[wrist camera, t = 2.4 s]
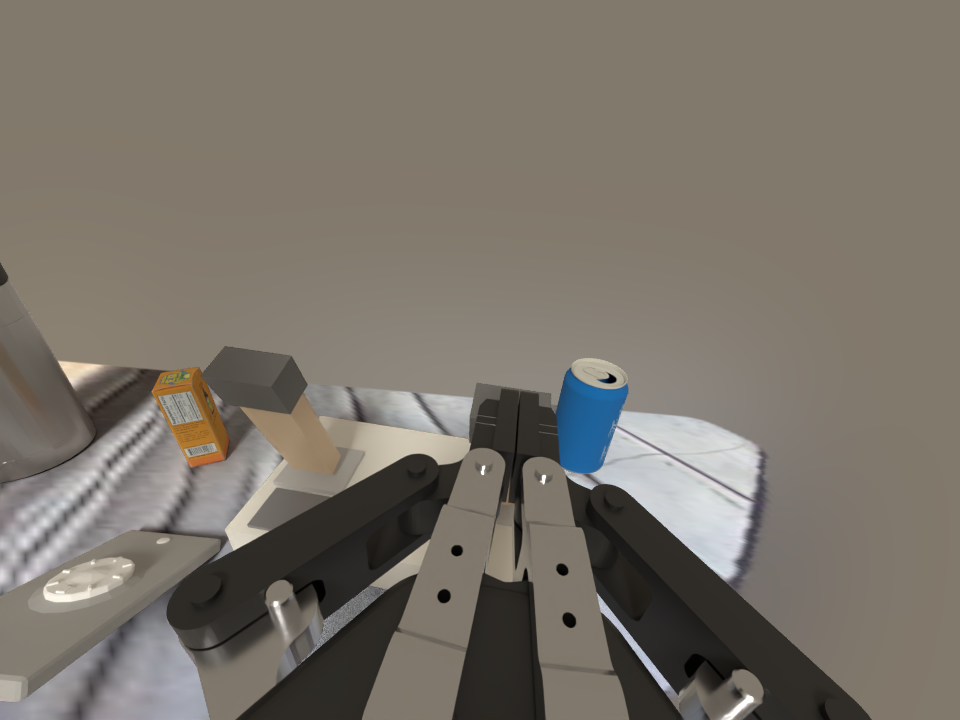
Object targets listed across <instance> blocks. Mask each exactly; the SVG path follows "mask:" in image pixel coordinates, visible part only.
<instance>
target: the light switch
mask: <svg viewBox="0 0 960 720" xmlns="http://www.w3.org/2000/svg"><path fill="white" fill-rule="evenodd" d="M220 546H221V540H220V539H216V538H206V537H196V536H185V535H175V534H165V533H155V532H145V531H135V530H131V531H128V532H126V533H124V534H122V535H120V536H118V537H116V538H114V539H112V540H110V541H108V542H106V543H104V544H102V545H100V546H98V547H96V548H94V549H92V550H90V551H88V552H86V553H84V554H83V555H81V556H79V557H77V558H75V559H73V560H71V561H69V562H67V563H65V564H63V565H61V566H59V567H57V568H55V569H53V570H51V571H49V572H47V573H45V574H43V575H41V576H39V577H37V578H35V579H33V580H31V581H29V582H27V583H25V584H23V585H21V586H19V587H17V588H15V589H13V590H12V591H10V592H8V593H6V594H4V595H2V596H0V701H9V702H17V701H21V700H23V699H25V698H26V697H28V696H29V695H31V694H32V693H33V692H34V691H36V690H37V689H38V688H40V687H41V686H42V685H44V684H45V683H46V682H48V681H49V680H50V679H52V678H53V677H54V676H56V675H57V674H58V673H60V672H61V671H62V670H63V669H65V668H66V667H67V666H69V665H70V664H71V663H73V662H74V661H75V660H77V659H78V658H79V657H81V656H82V655H83V654H85V653H86V652H87V651H89V650H90V649H91V648H92V647H94V646H95V645H96V644H98V643H99V642H100V641H102V640H103V639H104V638H106V637H107V636H108V635H110V634H111V633H112V632H114V631H115V630H116V629H117V628H119V627H120V626H121V625H123V624H124V623H125V622H127V621H128V620H129V619H131V618H132V617H133V616H135V615H136V614H137V613H139V612H140V611H141V610H143V609H144V608H145V607H146V606H148V605H149V604H150V603H152V602H153V601H154V600H156V599H157V598H158V597H160V596H161V595H162V594H164V593H165V592H166V591H168V590H169V589H170V588H172V587H173V586H174V585H175V584H177V583H178V582H179V581H181V580H182V579H183V578H185V577H186V576H187V575H189V574H190V573H191V572H193V571H194V570H195V569H197V568H198V567H199V566H200V565H202V564H203V563H204V562H206V561H207V560H208V559H210V558H211V557H212V556H214V555H215V554H216V553H218V552H219V551H220ZM134 569H135V571H134Z"/></svg>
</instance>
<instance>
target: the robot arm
mask: <svg viewBox="0 0 960 720" xmlns="http://www.w3.org/2000/svg"><path fill="white" fill-rule="evenodd" d="M518 400H519V403H518ZM95 435H96V428H95V426H94V424H93V422H92V421H91V419H90V417H89V415H88V413H87V412H86V410H85V408H84V406H83V405H82V403H81V401H80V399H79V397H78V396H77V394H76V392H75V390H74V389H73V387H72V385H71V383H70V382H69V380H68V378H67V377H66V375H65V373H64V371H63V370H62V368H61V366H60V364H59V363H58V361H57V359H56V358H55V356H54V354H53V353H52V351H51V349H50V347H49V346H48V344H47V342H46V340H45V339H44V337H43V335H42V333H41V332H40V330H39V328H38V327H37V325H36V323H35V322H34V320H33V318H32V316H31V314H30V313H29V311H28V310H27V308H26V306H25V305H24V303H23V301H22V299H21V298H20V296H19V294H18V293H17V291H16V289H15V287H14V286H13V284H12V282H11V280H10V279H9V278H8V275H7V274H6V272H5V270H4V268H3V267H2V265H1V263H0V483H2V482H8V481H13V480H17V479H21V478H25V477H28V476H31V475H34V474H37V473H40V472H43V471H45V470H47V469H50V468H52V467H54V466H57V465H58V464H60V463H62V462H64V461H66V460H68V459H70V458H71V457H73V456H74V455H76V454H77V453H79V452H80V451H82V450H83V449H84V448H85V447H86V446H88V445H89V443H90V442H91V441H92V440H93V439H94V437H95ZM509 482H510V485H509ZM508 488H509V498H508V503H514V504H515V505H514V515H513V521H512V559H513V582H503V581H501V580H499V579H496V578H494V577H492V576H490V575H488V574H486V572H487V567H488V562H489V557H490V552H491V547H492V542H493V537H494V532H495V527H496V521H497V518H498V516H499V514H500V509H501V503H502V502H506V500H507V494H508ZM428 540H430V542H429V545H428V547H427V550H426V553H425V556H424V558H423V561H422V564H421V567H420V569H419V572H418V573H417V574H415V575H412V576H409V577H407V578H405V579H403V580H401V581H399V582H398V583H396V584H395V585H393V586H392V587H390V588H389V589H388V590H387V591H385V592H384V593H383V594H382V595H381V596H380V597H378V598H377V599H376V600H375V601H374V602H373V603H371V604H370V605H369V606H368V607H367V608H366V609H364V610H363V611H362V612H361V613H360V614H358V615H357V616H356V617H355V618H354V619H353V620H351V621H350V622H349V623H348V624H347V625H346V626H344V627H343V628H342V629H341V630H340V631H339V632H337V633H336V634H335V635H334V636H333V637H331V638H330V639H329V640H328V641H327V642H326V643H324V644H323V645H322V646H321V647H320V648H319V649H317V650H316V651H315V652H314V653H313V654H312V655H310V656H309V657H308V658H307V659H306V660H304V661H303V662H302V660H303V659H304V658H305V657H306V656H307V655H308V654H309V653H311V651H312V650H313V649H314V648H315V646H316V645H317V643H318V641H319V639H320V637H321V634H322V631H323V620H325V619H326V618H327V617H329V616H330V615H331V614H333V613H334V612H335V611H337V610H338V609H339V608H340V607H342V606H343V605H344V604H346V603H347V602H348V601H350V600H351V599H352V598H354V597H355V596H356V595H358V594H359V593H360V592H361V591H363V590H364V589H365V588H367V587H368V586H369V585H371V584H372V583H373V582H375V581H376V580H377V579H379V578H380V577H381V576H382V575H384V574H385V573H386V572H388V571H389V570H390V569H392V568H393V567H394V566H396V565H397V564H398V563H400V562H401V561H402V560H403V559H405V558H406V557H407V556H409V555H410V554H411V553H413V552H414V551H415V550H417V549H418V548H419V547H421V546H422V545H423V544H424V543H426V542H427V541H428ZM596 592H597V593H598V594H599V596H600V597H601V598H602V599H603V601H604V602H605V603H606V605H607V606H608V607H609V608H610V610H611V611H612V612H613V613H614V615H615V616H616V617H617V618H618V620H619V621H620V622H621V624H622V625H623V626H624V627H625V629H626V630H627V631H628V632H629V634H630V635H631V636H632V637H633V639H634V640H635V641H636V642H637V644H638V645H639V646H640V648H641V649H642V650H643V651H644V653H645V654H646V655H647V656H648V658H649V659H650V660H651V661H652V663H653V664H654V665H655V666H656V668H657V669H658V670H659V672H660V673H661V674H662V675H663V677H664V678H665V679H666V680H667V682H668V683H669V684H670V685H671V687H672V688H673V689H674V691H675V692H676V693H677V694H678V696H679V710H680V713H679V712H678V710H677V709H676V707H675V706H674V705H673V703H672V702H671V701H670V699H669V698H668V697H667V695H666V694H665V693H664V691H663V690H662V688H661V687H660V686H659V684H658V683H657V682H656V680H655V679H654V678H653V676H652V675H651V673H650V672H649V671H648V669H647V668H646V667H645V665H644V664H643V663H642V661H641V660H640V659H639V657H638V656H637V654H636V653H635V652H634V650H633V649H632V648H631V646H630V645H629V644H628V642H627V641H626V640H625V638H624V637H623V635H622V634H621V633H620V632H619V630H618V629H617V628H616V627H615V626H614V624H613V623H612V622H611V621H610V620H609V619H608V618H607V617H606V616H605V615H604V614H602V613H601V612H600V607H599V602H598V597H597V593H596ZM167 619H168V621H169V623H170V625H171V626H172V628H173V629H174V630H175V632H176V633H177V635H178V638H179V642H180V644H181V645H182V647H183V648H184V650H185V651H186V653H187V654H188V655H189V657H190V658H191V660H192V661H193V663H194V664H195V665H196V667H197V669H198V673H199V677H200V681H201V685H202V689H203V693H204V697H205V701H206V705H207V709H208V713H209V717H210V720H871V718H870V717H869V716H868V714H867V713H866V712H865V711H864V710H863V709H862V707H861V706H860V705H859V704H858V703H857V702H856V701H855V700H854V699H852V698H851V697H850V696H849V695H848V694H847V693H846V692H845V691H844V690H843V689H842V688H840V687H839V686H838V685H837V684H836V683H835V682H834V681H833V680H832V679H831V678H830V677H828V676H827V675H826V674H825V673H824V672H823V671H822V670H821V669H819V667H817V666H816V665H815V664H814V663H813V662H812V661H811V660H810V659H809V658H808V657H807V656H806V655H804V654H803V653H802V652H801V651H800V650H799V649H798V648H797V647H796V646H795V645H793V644H792V643H791V642H790V641H789V640H788V639H787V638H786V637H785V636H784V635H783V634H781V633H780V632H779V631H778V630H777V629H776V628H775V627H774V626H773V625H771V624H770V623H769V622H768V621H767V620H766V619H765V618H764V617H763V616H762V615H761V614H760V613H758V612H757V611H756V610H755V609H754V608H753V607H752V606H751V605H750V604H749V603H748V602H746V601H745V600H744V599H743V598H742V597H741V596H740V595H739V594H738V593H737V592H736V591H734V590H733V589H732V588H731V587H730V586H729V585H728V584H727V583H726V582H725V581H724V580H722V579H721V578H720V577H719V576H718V575H717V574H716V573H715V572H714V571H713V570H711V569H710V568H709V567H708V566H707V565H706V564H705V563H704V562H703V561H702V560H701V559H699V558H698V557H697V556H696V555H695V554H694V553H693V552H692V551H691V550H690V549H689V548H687V547H686V546H685V545H684V544H683V543H682V542H681V541H680V540H679V539H678V538H677V537H675V536H674V535H673V534H672V533H671V532H670V531H669V530H668V529H667V528H666V527H664V526H663V525H662V524H661V523H660V522H659V521H658V520H657V519H656V518H655V517H654V516H652V515H651V514H650V513H649V512H648V511H647V510H646V509H645V508H644V507H643V506H642V505H640V504H639V503H638V502H637V501H636V500H635V499H634V498H633V497H632V496H631V495H629V494H628V493H627V492H626V491H624V490H623V489H621V488H619V487H617V486H614V485H609V484H602V485H598V486H596V487H594V488H593V489H592V490H590V489H588V488H585V487H583V486H581V485H579V484H577V483H575V482H573V481H572V480H570V479H569V478H568V477H567V476H566V475H565V472H564V470H563V468H562V467H561V465H560V454H559V441H558V429H557V417H556V415H555V414H554V412H553V411H552V409H551V408H549V407H543V406H539V393H533V392H526V391H520V397H519V390H512V389H505V388H501V394H500V400H494V399H486V400H485V401H484V402H483V403H482V404H481V405H480V406H479V411H478V415H477V419H476V424H475V428H474V432H473V437H472V441H471V445H470V450H469V452H468V453H467V454H466V455H465V457H464V458H463V459H462V460H460V461H458V462H455V463H451V464H443V465H438V463H437V462H436V460H435V459H434V458H432V457H431V456H429V455H426V454H411V455H407V456H405V457H403V458H401V459H400V460H398V461H396V462H394V463H392V464H391V465H389V466H387V467H385V468H383V469H381V470H380V471H378V472H376V473H374V474H372V475H371V476H369V477H367V478H365V479H363V480H361V481H360V482H358V483H356V484H354V485H352V486H351V487H349V488H347V489H345V490H343V491H341V492H340V493H338V494H336V495H334V496H332V497H331V498H329V499H327V500H325V501H323V502H321V503H320V504H318V505H316V506H314V507H312V508H311V509H309V510H307V511H305V512H303V513H301V514H300V515H298V516H296V517H294V518H292V519H291V520H289V521H287V522H285V523H283V524H281V525H280V526H278V527H276V528H274V529H272V530H271V531H269V532H267V533H265V534H263V535H261V536H260V537H258V538H256V539H254V540H252V541H251V542H249V543H247V544H245V545H243V546H241V547H240V548H238V549H236V550H234V551H232V552H231V553H229V554H227V555H225V556H223V557H221V558H220V559H218V560H216V561H214V562H212V563H211V564H209V565H207V566H205V567H203V568H201V569H200V570H198V571H196V572H195V573H193V574H192V575H191V576H189V577H188V578H187V579H186V580H185V581H183V582H182V583H181V585H180V586H179V587H178V588H177V589H176V591H175V592H174V593H173V595H172V597H171V598H170V601H169V603H168V607H167ZM301 662H302V663H301ZM300 663H301V664H300ZM299 664H300V665H299ZM298 665H299V666H298Z"/></svg>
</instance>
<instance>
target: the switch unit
mask: <svg viewBox="0 0 960 720" xmlns="http://www.w3.org/2000/svg"><path fill="white" fill-rule="evenodd" d="M318 419H319V420H320V422H321V424H322V425H323V427H324V429H325V430H326V432H327V434H328V435H329V437H330V439H331V440H332V442H333V444H334V446H335V447H336V449H337V451H338V452H339V454H340V456H341V457H340V459H339V461H338V463H337V466H336V468H335V470H334V473H333V475H328V474H322V473H317V472H311V471H305V470H299V469H293V468H292V467H291V466H290V464H289V463H288V462H287V461H286V460H285V459H283V461H282V462H281V463H280V464H279V465H278V467H277V468H276V469H275V470H274V471H273V473H272V474H271V475H270V476H269V477H268V479H267V480H266V481H265V482H264V483H263V484H262V486H261V487H260V488H259V489H258V490H257V492H256V493H255V494H254V495H253V496H252V498H251V499H250V500H249V501H248V502H247V504H246V505H245V506H244V507H243V508H242V510H241V511H240V512H239V513H238V514H237V516H236V517H235V518H234V519H233V520H232V521H231V523H230V524H229V525H228V526H227V527H226V529H225V531H226V534H227V536H228V538H229V541H230V543H231V545H232V548H233V550H236V549H238V548H240V547H241V546H243V545H245V544H247V543H249V542H251V541H252V540H254V539H256V538H258V537H260V536H261V535H263V534H265V533H267V532H269V531H271V530H272V529H274V528H276V527H278V526H280V525H281V524H283V523H285V522H287V521H289V520H291V519H292V518H294V517H296V516H298V515H300V514H301V513H303V512H305V511H307V510H309V509H311V508H312V507H314V506H316V505H318V504H320V503H321V502H323V501H325V500H327V499H329V498H331V497H332V496H334V495H336V494H338V493H340V492H341V491H343V490H345V489H347V488H349V487H351V486H352V485H354V484H356V483H358V482H360V481H361V480H363V479H365V478H367V477H369V476H371V475H372V474H374V473H376V472H378V471H380V470H381V469H383V468H385V467H387V466H389V465H391V464H392V463H394V462H396V461H398V460H400V459H401V458H403V457H405V456H407V455H411V454H426V455H429V456H431V457H432V458H434V459H435V460H436V462H437V463H438V465H443V464H451V463H455V462H458V461H460V460H462V459H463V458H464V457H465V455H466V454H467V453H468V452H469V450H470V445H471V443H469V439H466V438H459V437H453V436H447V435H440V434H434V433H428V432H421V431H415V430H409V429H402V428H396V427H390V426H383V425H377V424H371V423H364V422H358V421H352V420H345V419H339V418H332V417H326V416H319V418H318ZM513 515H514V506H510V505H504V504H501V509H500V514H499V516H498V518H497V521H496V527H495V532H494V537H493V542H492V547H491V552H490V557H489V562H488V567H487V572H486V574H488V575H490V576H492V577H494V578H496V579H499V580H501V581H503V582H513V559H512V521H513ZM429 542H430V540H428V541H427V542H426V543H424V544H423V545H422V546H421V547H419V548H418V549H417V550H415V551H414V552H413V553H411V554H410V555H409V556H407V557H406V558H405V559H403V560H402V561H401V562H400V563H398V564H397V565H396V566H394V567H393V568H392V569H390V570H389V571H388V572H386V573H385V574H384V575H382V576H381V577H380V578H379V579H377V580H376V581H375V582H373V583H372V584H371V585H369V586H373V587H378V588H383V589H389V588H390V587H392V586H393V585H395V584H396V583H398V582H399V581H401V580H403V579H405V578H407V577H409V576H412V575H415V574H417V573H418V572H419V569H420V567H421V564H422V561H423V558H424V556H425V553H426V550H427V547H428V545H429Z"/></svg>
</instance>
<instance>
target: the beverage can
mask: <svg viewBox="0 0 960 720" xmlns="http://www.w3.org/2000/svg"><path fill="white" fill-rule="evenodd" d="M627 380H628V377H627V375H626V373H625V372H624V371H623V370H622V369H620V368H619V367H618V366H616V365H614V364H612V363H610V362H607V361H604V360H599V359H594V358H583V359H579V360H577V361H574V362H573V364H572V366H571V368H570V369H569V370H568V371H567V372H566V374H565V377H564V381H563V386H562V389H561V394H560V398H559V402H558V406H557V410H556V414H555V415H556V417H557V429H558V441H559V454H560V465H561V467H562V468H564V469H566V470H568V471H570V472H573V473H579V474H589V473H593V472H596V471H597V470H599V469H600V468H601V467H602V465H603V463H604V460H605V457H606V454H607V451H608V448H609V446H610V443H611V440H612V437H613V434H614V431H615V429H616V426H617V423H618V420H619V417H620V414H621V412H622V409H623V406H624V403H625V400H626V397H627V394H628V385H627Z"/></svg>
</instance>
